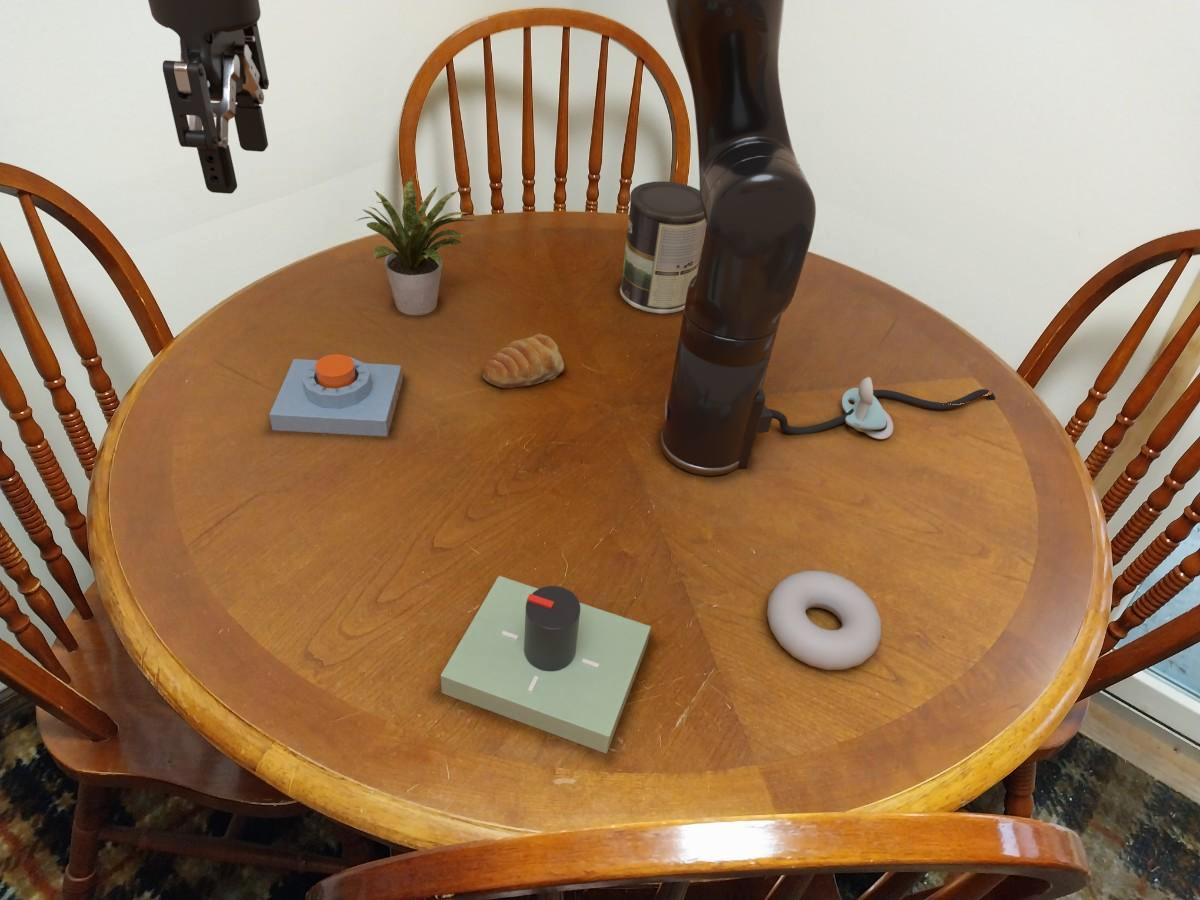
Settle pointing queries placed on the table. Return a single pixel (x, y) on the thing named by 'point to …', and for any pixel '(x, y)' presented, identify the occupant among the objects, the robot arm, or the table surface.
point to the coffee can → (662, 246)
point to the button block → (338, 401)
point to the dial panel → (547, 698)
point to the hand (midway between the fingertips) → (239, 169)
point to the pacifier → (866, 411)
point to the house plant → (414, 250)
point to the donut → (814, 641)
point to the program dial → (551, 628)
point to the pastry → (524, 363)
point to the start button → (335, 371)
